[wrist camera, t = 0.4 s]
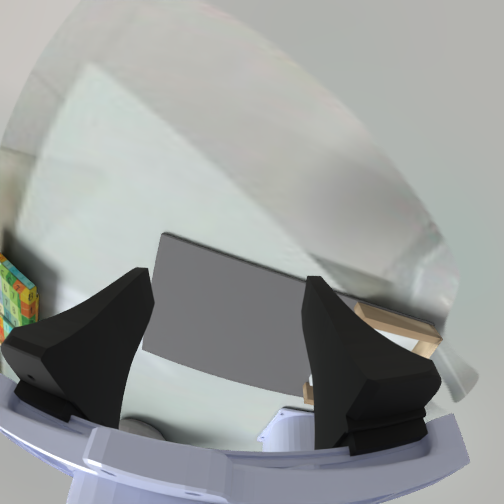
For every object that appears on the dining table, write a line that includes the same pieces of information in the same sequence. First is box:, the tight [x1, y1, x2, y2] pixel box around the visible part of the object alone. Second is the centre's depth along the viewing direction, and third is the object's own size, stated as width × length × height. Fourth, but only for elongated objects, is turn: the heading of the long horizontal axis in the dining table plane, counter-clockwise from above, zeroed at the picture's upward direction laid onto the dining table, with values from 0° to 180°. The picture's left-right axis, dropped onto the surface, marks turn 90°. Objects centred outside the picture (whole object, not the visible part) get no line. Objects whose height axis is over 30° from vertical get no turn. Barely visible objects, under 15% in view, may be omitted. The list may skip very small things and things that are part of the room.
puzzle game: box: [0, 253, 39, 345], centre depth 26 cm, size 12×5×20 cm
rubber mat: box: [142, 233, 435, 397], centre depth 26 cm, size 14×30×1 cm, turn 71°
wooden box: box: [303, 302, 443, 405], centre depth 25 cm, size 12×11×3 cm
